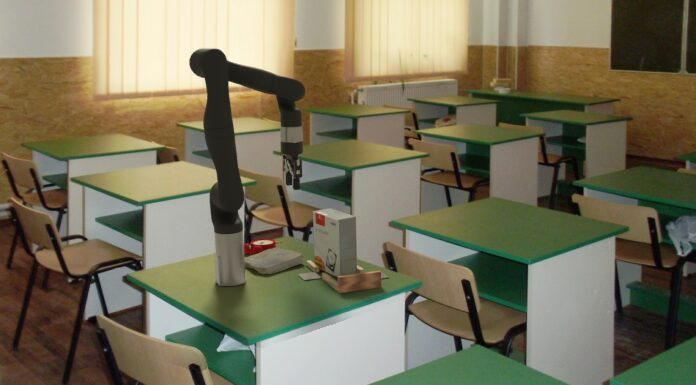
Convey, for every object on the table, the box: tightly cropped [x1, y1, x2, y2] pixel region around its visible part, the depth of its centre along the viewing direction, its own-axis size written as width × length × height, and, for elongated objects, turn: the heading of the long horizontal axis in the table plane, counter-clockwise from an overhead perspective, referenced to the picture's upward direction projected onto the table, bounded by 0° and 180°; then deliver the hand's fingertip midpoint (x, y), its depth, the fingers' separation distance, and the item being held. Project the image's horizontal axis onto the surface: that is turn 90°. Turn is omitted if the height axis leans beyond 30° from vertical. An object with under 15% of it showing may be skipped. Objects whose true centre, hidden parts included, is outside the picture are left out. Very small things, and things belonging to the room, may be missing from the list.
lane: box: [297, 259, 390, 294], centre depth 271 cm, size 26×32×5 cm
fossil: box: [244, 247, 305, 275], centre depth 287 cm, size 20×5×17 cm
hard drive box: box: [312, 208, 358, 278], centre depth 276 cm, size 16×8×20 cm, turn 35°
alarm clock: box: [244, 238, 283, 256], centre depth 302 cm, size 10×6×15 cm
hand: (292, 187), depth 278 cm, fingers open, 8 cm apart
